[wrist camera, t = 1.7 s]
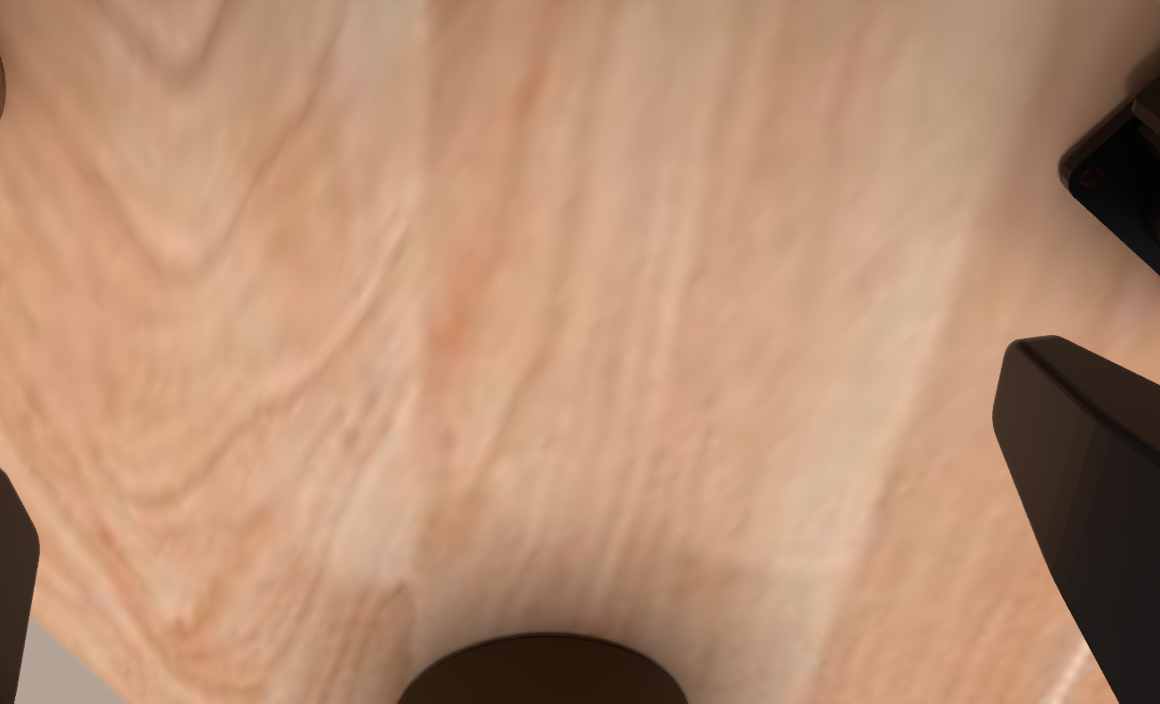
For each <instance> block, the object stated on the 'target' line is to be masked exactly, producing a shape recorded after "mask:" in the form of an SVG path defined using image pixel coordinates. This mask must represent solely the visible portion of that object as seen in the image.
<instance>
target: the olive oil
mask: <svg viewBox="0 0 1160 704" xmlns="http://www.w3.org/2000/svg"><path fill="white" fill-rule="evenodd" d="M399 704H687V702H686V700H685V698H684V696H683V694H682V693H681V691H680V690H679V688H678V687H677V686H676V684H675V683H674V682H673V681H672V680H671V679H670V678H669V677H668V676H667V675H666V674H664V673H663V672H662V671H661V670H659V669H658V668H657V667H655V666H654V665H652V664H650V663H649V662H647V661H645V660H643V659H642V658H640V657H638V656H636V655H634V654H631V653H629V652H627V651H624V650H621V649H619V648H616V647H613V646H609V645H606V644H602V643H597V642H593V641H587V640H581V639H573V638H561V637H535V638H522V639H514V640H508V641H502V642H497V643H493V644H489V645H485V646H482V647H478V648H475V649H472V650H470V651H467V652H464V653H462V654H460V655H457V656H455V657H453V658H451V659H449V660H447V661H445V662H443V663H442V664H440V665H438V666H437V667H435V668H434V669H432V670H431V671H429V672H428V673H426V674H425V675H424V676H423V677H421V678H420V679H419V680H418V681H417V682H416V683H415V684H414V685H413V686H412V687H411V688H410V689H409V690H408V691H407V692H406V694H405V695H404V696H403V698H402V699H401V701H400V703H399Z"/></svg>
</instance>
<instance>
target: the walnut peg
mask: <svg viewBox="0 0 1160 704" xmlns="http://www.w3.org/2000/svg"><path fill="white" fill-rule="evenodd" d="M4 103H5V78H4V72H3V67H2V63H1V59H0V118H1V116H2V112H3V108H4Z"/></svg>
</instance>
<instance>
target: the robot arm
mask: <svg viewBox="0 0 1160 704" xmlns="http://www.w3.org/2000/svg"><path fill="white" fill-rule="evenodd" d="M1095 167H1096V172H1095V173H1094V174H1093V176H1092V177H1090V178H1089V179H1087V180H1085V181H1080V179H1081V176H1082V175H1083V174H1084V172H1085V171H1087V170H1089V169H1090V168H1095ZM1060 179H1061V182H1062V184H1063V186H1064V187H1065V188H1066V189H1067V190H1068V191H1069V193H1070V194H1071V195H1072V196H1073V197H1074V198H1075V199H1077V200H1078V201H1079V202H1080V203H1081V204H1082V205H1083V206H1084V207H1085V208H1086V209H1087V210H1089V211H1090V212H1091V213H1092V214H1093V215H1094V216H1095V217H1096V218H1097V219H1098V220H1100V221H1101V222H1102V223H1103V224H1104V225H1105V226H1106V227H1107V228H1108V229H1109V230H1110V231H1112V232H1113V233H1114V234H1115V235H1116V236H1117V237H1118V238H1119V239H1120V240H1121V241H1122V242H1124V243H1125V244H1126V245H1127V246H1128V247H1129V248H1130V249H1131V250H1132V251H1133V252H1135V253H1136V254H1137V255H1138V256H1139V257H1140V258H1141V259H1142V260H1143V261H1144V262H1145V263H1147V264H1148V265H1149V266H1150V267H1151V268H1152V269H1153V270H1154V271H1155V272H1156V273H1157V274H1159V275H1160V75H1159V76H1158V77H1157V78H1156V79H1155V80H1154V81H1153V82H1151V83H1150V84H1149V85H1148V86H1147V87H1146V88H1145V89H1144V90H1142V91H1141V92H1140V93H1139V94H1138V95H1137V96H1136V98H1135V99H1134V100H1133V101H1132V102H1131V103H1130V104H1129V105H1127V106H1126V107H1125V108H1124V109H1123V110H1122V111H1121V112H1120V113H1118V114H1117V115H1116V116H1115V117H1114V118H1113V119H1112V120H1111V121H1109V122H1108V123H1107V124H1106V125H1105V126H1104V127H1103V128H1102V129H1100V130H1099V131H1098V132H1097V133H1096V134H1095V135H1094V136H1093V137H1091V138H1090V139H1089V140H1088V141H1087V142H1086V143H1085V144H1084V145H1082V146H1081V147H1080V148H1079V149H1078V150H1077V151H1076V152H1075V153H1073V154H1072V155H1071V156H1070V157H1069V158H1068V160H1067V161H1066V162H1065V163H1064V164H1063V167H1062V169H1061V172H1060ZM992 420H993V427H994V432H995V435H996V438H997V441H998V443H999V446H1000V448H1001V451H1002V453H1003V456H1004V458H1005V461H1006V463H1007V466H1008V468H1009V471H1010V474H1011V476H1012V479H1013V481H1014V484H1015V486H1016V489H1017V491H1018V494H1019V496H1020V499H1021V502H1022V504H1023V507H1024V509H1025V512H1026V514H1027V517H1028V519H1029V522H1030V524H1031V527H1032V530H1033V532H1034V535H1035V537H1036V540H1037V542H1038V545H1039V547H1040V550H1041V552H1042V555H1043V557H1044V559H1045V562H1046V564H1047V566H1048V569H1049V571H1050V573H1051V575H1052V577H1053V579H1054V581H1055V583H1056V585H1057V587H1058V589H1059V591H1060V593H1061V595H1062V597H1063V599H1064V601H1065V603H1066V605H1067V607H1068V609H1069V610H1070V612H1071V614H1072V616H1073V618H1074V620H1075V622H1076V623H1077V625H1078V627H1079V629H1080V631H1081V633H1082V635H1083V637H1084V638H1085V640H1086V642H1087V644H1088V646H1089V648H1090V650H1091V652H1092V653H1093V655H1094V657H1095V659H1096V661H1097V663H1098V665H1099V666H1100V668H1101V670H1102V672H1103V674H1104V676H1105V678H1106V680H1107V681H1108V683H1109V685H1110V687H1111V689H1112V691H1113V693H1114V694H1115V696H1116V698H1117V700H1118V702H1119V704H1160V385H1158V384H1156V383H1154V382H1152V381H1150V380H1148V379H1146V378H1144V377H1142V376H1140V375H1138V374H1136V373H1134V372H1132V371H1130V370H1128V369H1126V368H1124V367H1122V366H1120V365H1118V364H1116V363H1113V362H1111V361H1109V360H1107V359H1105V358H1103V357H1101V356H1099V355H1097V354H1095V353H1093V352H1091V351H1089V350H1087V349H1085V348H1083V347H1081V346H1079V345H1077V344H1075V343H1073V342H1071V341H1068V340H1066V339H1064V338H1062V337H1060V336H1055V335H1047V336H1039V337H1031V338H1023V339H1017V340H1015V341H1013V342H1011V343H1010V344H1009V346H1008V347H1007V349H1006V351H1005V354H1004V358H1003V363H1002V367H1001V372H1000V377H999V381H998V386H997V391H996V395H995V400H994V405H993V412H992ZM39 555H40V544H39V537H38V534H37V531H36V528H35V526H34V524H33V522H32V520H31V518H30V516H29V515H28V513H27V511H26V509H25V507H24V505H23V503H22V502H21V500H20V498H19V496H18V494H17V492H16V490H15V488H14V487H13V485H12V483H11V481H10V479H9V477H8V476H7V475H6V473H5V472H4V471H3V470H2V469H1V468H0V704H14V701H15V696H16V692H17V687H18V681H19V674H20V669H21V663H22V657H23V651H24V645H25V639H26V633H27V627H28V622H29V616H30V610H31V604H32V598H33V592H34V586H35V580H36V574H37V568H38V562H39Z"/></svg>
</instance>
